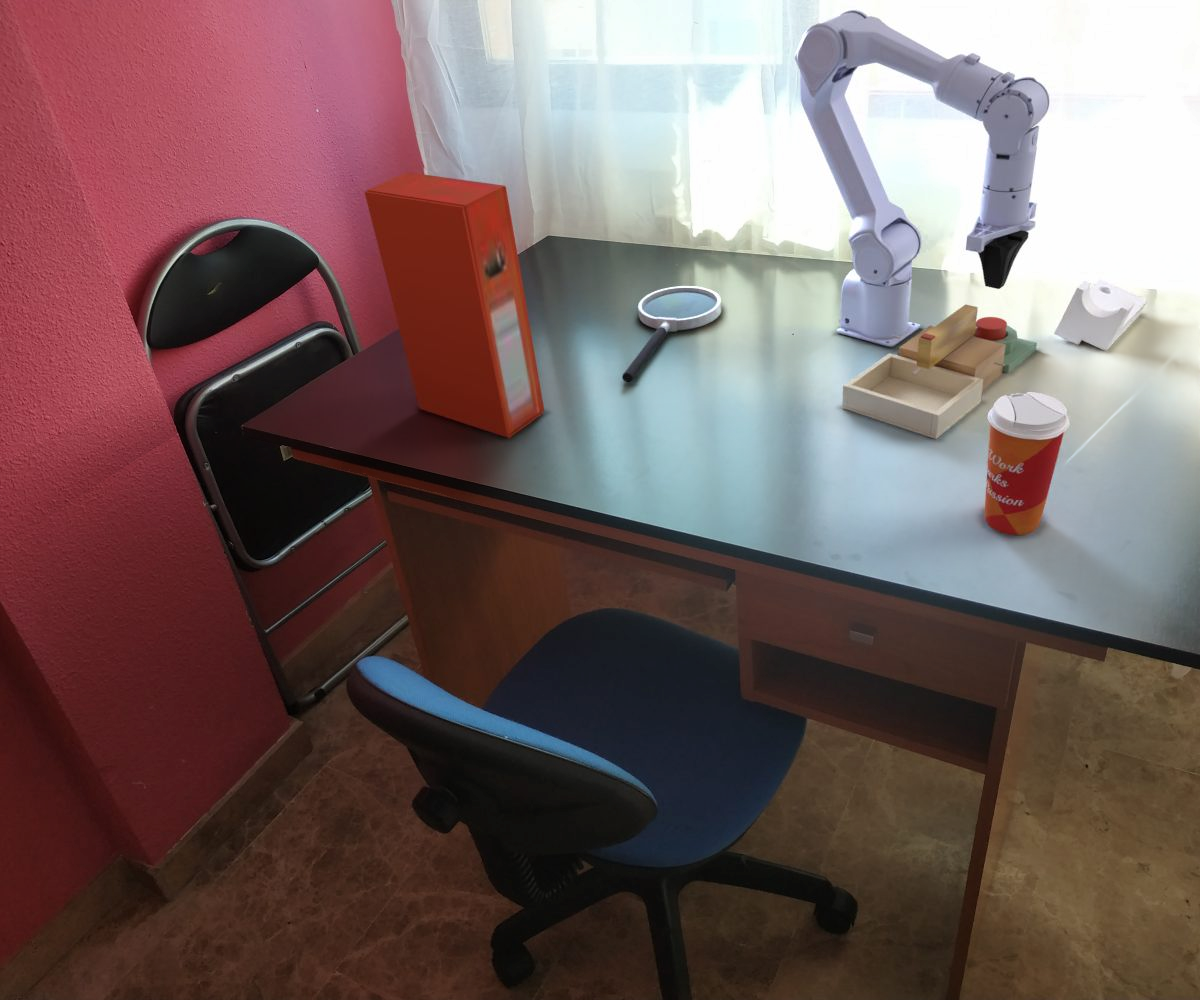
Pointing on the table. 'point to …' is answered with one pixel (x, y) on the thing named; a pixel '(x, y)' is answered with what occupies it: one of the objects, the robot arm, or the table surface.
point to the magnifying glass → (673, 316)
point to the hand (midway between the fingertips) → (994, 285)
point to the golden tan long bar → (946, 336)
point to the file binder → (458, 298)
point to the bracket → (1099, 314)
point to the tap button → (991, 328)
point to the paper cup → (1022, 459)
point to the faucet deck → (965, 357)
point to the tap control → (1015, 349)
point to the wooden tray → (912, 395)
